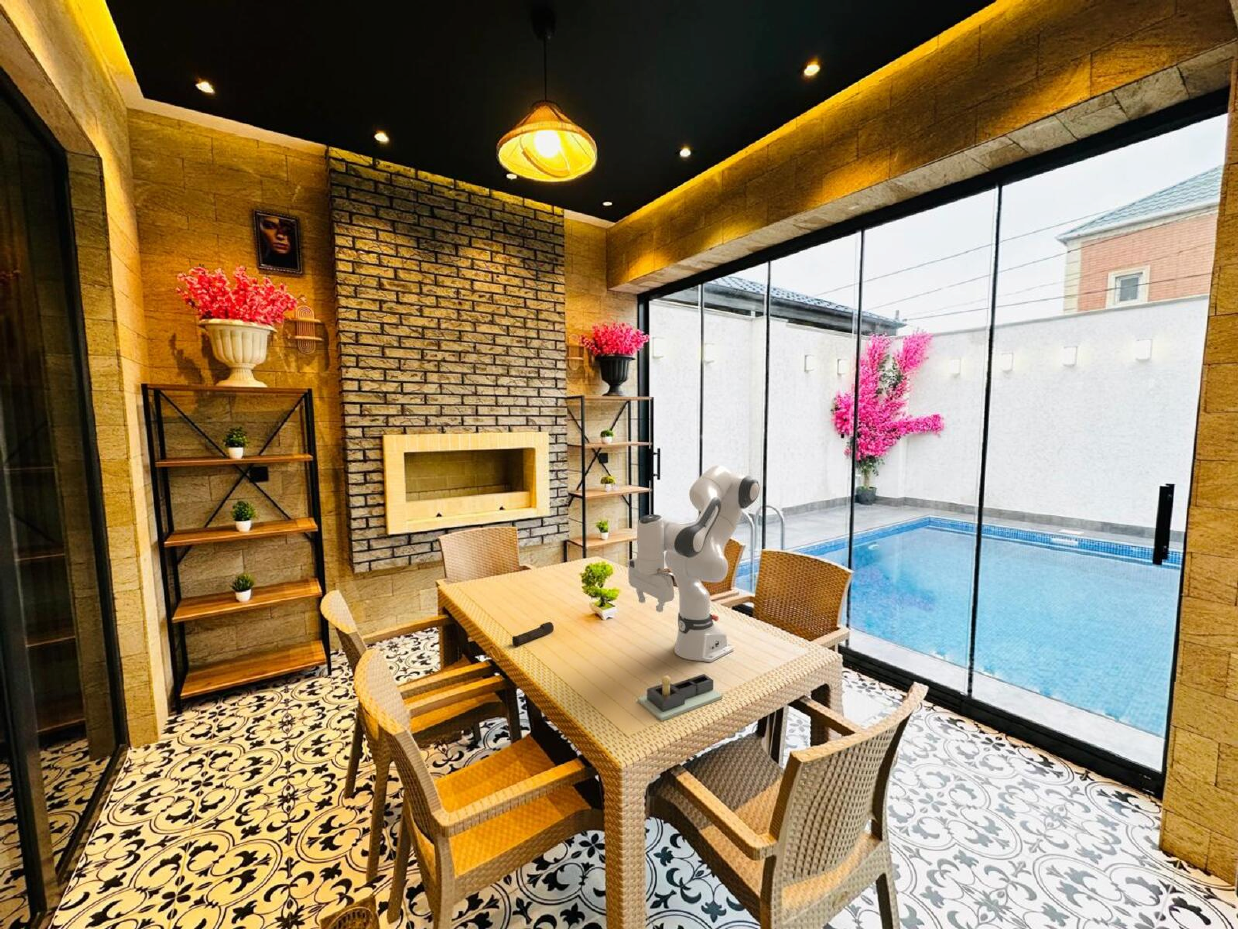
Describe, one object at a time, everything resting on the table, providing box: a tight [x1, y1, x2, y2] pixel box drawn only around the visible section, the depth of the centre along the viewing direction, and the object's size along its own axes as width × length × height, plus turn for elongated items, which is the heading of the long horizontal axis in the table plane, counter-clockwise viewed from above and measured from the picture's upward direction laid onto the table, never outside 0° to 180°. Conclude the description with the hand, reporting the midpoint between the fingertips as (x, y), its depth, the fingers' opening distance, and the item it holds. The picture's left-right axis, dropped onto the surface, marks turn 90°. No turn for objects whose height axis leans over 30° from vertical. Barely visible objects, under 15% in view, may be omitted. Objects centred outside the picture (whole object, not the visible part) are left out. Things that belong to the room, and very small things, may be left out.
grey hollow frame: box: [646, 673, 714, 712], centre depth 151 cm, size 21×8×3 cm, turn 121°
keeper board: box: [637, 675, 723, 722], centre depth 151 cm, size 23×12×9 cm, turn 121°
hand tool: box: [511, 621, 555, 648], centre depth 194 cm, size 19×4×5 cm, turn 135°
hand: (650, 606), depth 162 cm, fingers open, 8 cm apart
